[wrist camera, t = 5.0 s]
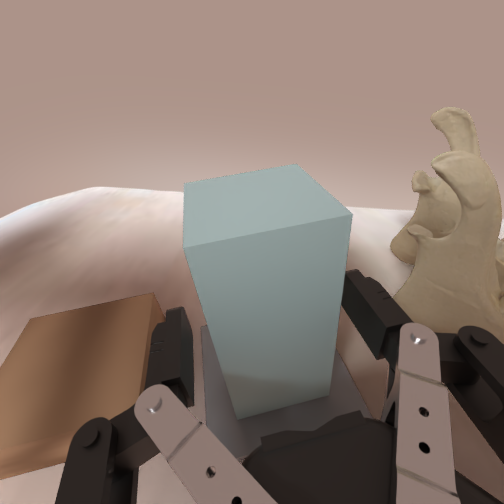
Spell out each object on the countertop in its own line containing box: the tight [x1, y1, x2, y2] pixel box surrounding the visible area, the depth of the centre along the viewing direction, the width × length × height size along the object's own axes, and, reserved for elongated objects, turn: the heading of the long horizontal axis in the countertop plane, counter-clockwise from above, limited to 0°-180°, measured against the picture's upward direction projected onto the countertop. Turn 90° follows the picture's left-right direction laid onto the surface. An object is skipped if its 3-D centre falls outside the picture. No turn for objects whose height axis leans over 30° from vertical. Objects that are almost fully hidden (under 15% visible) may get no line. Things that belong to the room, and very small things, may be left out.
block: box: [183, 164, 353, 420], centre depth 14 cm, size 6×6×12 cm
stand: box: [0, 293, 165, 480], centre depth 18 cm, size 9×9×3 cm
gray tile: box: [201, 325, 373, 460], centre depth 18 cm, size 9×9×1 cm
